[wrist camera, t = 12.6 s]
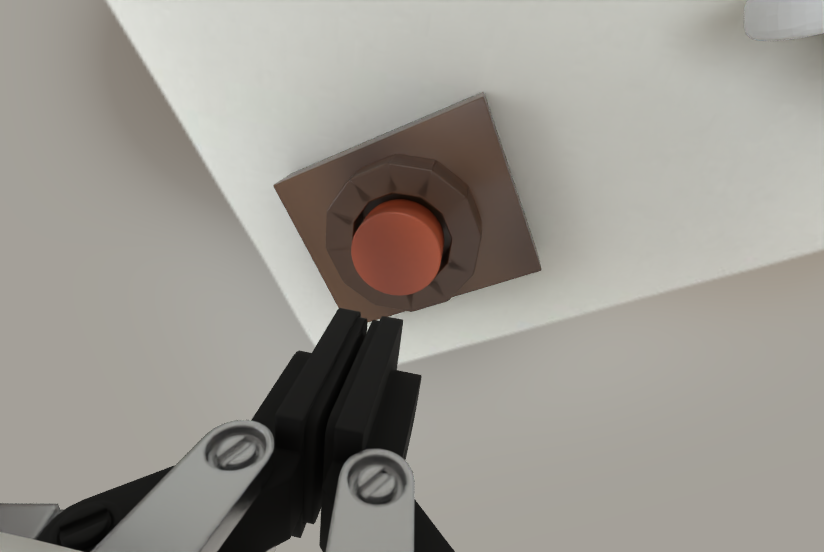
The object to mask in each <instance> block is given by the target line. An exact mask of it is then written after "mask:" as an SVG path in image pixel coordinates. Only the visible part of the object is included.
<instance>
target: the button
mask: <svg viewBox="0 0 824 552" xmlns="http://www.w3.org/2000/svg"><path fill="white" fill-rule="evenodd" d="M443 249H444V233H443V230H442V227H441V225H440V223H439V221H438V219H437V218H436V216H435V215H434V214H433V213H432V212H431V211H430V210H429V209H427V208H426V207H425V206H423V205H421V204H419V203H417V202H414V201H411V200H405V199H394V200H389V201H386V202H383V203H381V204H379V205H378V206H376V207H375V208H374V209H372V210H371V211H370V212H369V214H368V215H367V216H366V218H365V219H364V221H363V222H362V223H361V225H360V226H359V228H358V229H357V231H356V232H355V235H354V237H353V240H352V245H351V255H352V260H353V264H354V266H355V269H356V270H357V272H358V274H359V275H360V277H361V278H362V279H363V280H364V281H365V282H366V283H367V284H368V285H370V286H371V287H373V288H374V289H376V290H378V291H380V292H383V293H385V294H390V295H409V294H413V293H416V292H418V291H420V290H422V289H424V288H425V287H426V286H428V285H429V284H430V283H431V282H432V281H433V279H434V278H435V277H436V275H437V273H438V271H439V268H440V264H441V259H442V254H443Z"/></svg>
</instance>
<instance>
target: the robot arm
mask: <svg viewBox="0 0 824 552" xmlns="http://www.w3.org/2000/svg"><path fill="white" fill-rule="evenodd" d="M402 326H403V320H401V319H396V318H391V317H386V316H382V317H381V319H380V321H377V320H373V321H372V323H371V325H370V327H369V329H368V332H367V318H361V312H359V311H354V310H349V309H344V308H339V309H338V310H337V312H336V314H335V315H334V317H333V319H332V320H331V322H330V324H329V325H328V327H327V329H326V330H325V332H324V334H323V335H322V337H321V339H320V340H319V342H318V344H317V345H316V347H315V349H314V351H313V352H312V353H308V352H303V351H298V352H296V354H294V356H293V357H292V359H291V360H290V362H289V363H288V365H287V367H286V368H285V369H284V371H283V373H282V374H281V376H280V377H279V379H278V380H277V382H276V383H275V385H274V386H273V388H272V389H271V391H270V393H269V394H268V396H267V397H266V399H265V400H264V402H263V403H262V405H261V406H260V408H259V409H258V411H257V412H256V414H255V415H254V417H253V419H252V420H251V421H250V420H236V421H231V422H227V423H224V424H222V425H220V426H218V427H216V428H214V429H212V430H211V431H210V432H209V433H207V434H206V435H205V436H204V437H203V438H202V439H201V440H200V441H199V442H198V443H197V444H196V445H195V446H194V447H193V448H192V449H191V450H190V451H189V452H188V453H187V454H186V455H185V456H184V457H183V458H182V459H181V460H180V461H179V462H178V463H177V464H176V465H175V466H172V467H169V468H167V469H164V470H161V471H159V472H156V473H153V474H151V475H148V476H146V477H143V478H140V479H137V480H135V481H132V482H130V483H127V484H124V485H122V486H119V487H116V488H113V489H111V490H108V491H106V492H103V493H100V494H97V495H95V496H92V497H90V498H87V499H84V500H82V501H80V502H78V503H76V504H74V505H72V506H70V507H68V508H66V509H65V510H60V508H59V505H58V504H1V503H0V552H275V550H276V546H277V545H279V544H280V543H283V542H284V541H286V540H288V539H290V537H291V536H294V537H299V538H301V536H302V533H303V530H304V528H305V525H306V523H311V524H314V523H315V522H316V519H317V517H318V514H319V511H320V509H321V527H320V548H321V549H322V551H323V552H455V551H454V550H453V549H452V548H451V546H450V545H449V544H448V542H447V541H446V540H445V539H444V537H443V536H442V535H441V533H440V532H439V530H437V528H436V527H435V525H434V524H433V523H432V522H431V520H430V519H429V517H428V516H427V515H426V514H425V512H424V511H423V510H422V508H421V507H420V506H419V504H418V503H417V502H416V500H415V499H414V476H413V471H412V470H411V468H410V466H409V464H408V463H407V462H406V461H405V459H406V455H407V450H408V446H409V441H410V436H411V431H412V427H413V422H414V417H415V412H416V406H417V400H418V395H419V388H420V383H421V375H418V374H413V373H408V372H402V371H398V370H397V363H398V356H399V348H400V341H401V334H402ZM366 333H367V334H366Z"/></svg>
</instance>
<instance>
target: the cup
mask: <svg viewBox="0 0 824 552" xmlns="http://www.w3.org/2000/svg"><path fill="white" fill-rule="evenodd" d="M744 28H745V32H746V34H747V35H748V36H749V38H751V39H754V40H758V41H778V40H789V39H797V38H803V37H808V36H813V35H818V34H823V33H824V0H747V2H746V5H745V7H744Z"/></svg>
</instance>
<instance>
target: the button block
mask: <svg viewBox="0 0 824 552" xmlns="http://www.w3.org/2000/svg"><path fill="white" fill-rule="evenodd" d="M274 188H275V190H276V192H277V193H278V195H279V197H280V199H281V201H282V203H283V205H284V207H285V208H286V210H287V212H288V214H289V216H290V218H291V220H292V221H293V223H294V225H295V227H296V229H297V231H298V233H299V235H300V236H301V238H302V240H303V242H304V244H305V246H306V248H307V249H308V251H309V253H310V255H311V257H312V259H313V261H314V263H315V264H316V266H317V268H318V270H319V272H320V274H321V276H322V277H323V279H324V281H325V283H326V285H327V287H328V289H329V290H330V292H331V294H332V296H333V298H334V300H335V302H336V304H337V305H338V307H339V308H344V309H349V310H354V311H359V312H361V318H367V322H371V321H373V320H377V319H381V317H382V316H386V317H388V316H391V315H394V314H398V313H401V312H404V311H410V312H412V311H416V310H419V309H423V308H426V307H429V306H433V305H436V304H439V303H443V302H446V301H448V300H450V298H451V297H454V296H458V295H461V294H464V293H468V292H471V291H474V290H478V289H481V288H484V287H488V286H491V285H494V284H498V283H501V282H504V281H508V280H511V279H514V278H518V277H521V276H524V275H528V274H531V273H534V272H538V271H541V265H540V262H539V258H538V254H537V250H536V247H535V244H534V241H533V238H532V235H531V232H530V229H529V226H528V223H527V220H526V217H525V214H524V211H523V208H522V205H521V202H520V199H519V196H518V193H517V190H516V187H515V184H514V181H513V178H512V175H511V172H510V169H509V166H508V163H507V160H506V157H505V154H504V151H503V148H502V145H501V142H500V139H499V136H498V133H497V130H496V127H495V124H494V121H493V118H492V115H491V112H490V109H489V106H488V103H487V100H486V97H485V94H484V92H482V93H479V94H477V95H475V96H472V97H470V98H468V99H465V100H463V101H460V102H458V103H456V104H453V105H451V106H449V107H446V108H444V109H442V110H439V111H437V112H435V113H432V114H430V115H428V116H425V117H423V118H421V119H418V120H416V121H414V122H411V123H409V124H407V125H404V126H402V127H399V128H397V129H395V130H392V131H390V132H388V133H385V134H383V135H381V136H378V137H376V138H374V139H371V140H369V141H367V142H364V143H362V144H360V145H357V146H355V147H353V148H350V149H348V150H346V151H343V152H341V153H338V154H336V155H334V156H331V157H329V158H327V159H324V160H322V161H320V162H317V163H315V164H313V165H310V166H308V167H306V168H303V169H301V170H299V171H296V172H294V173H292V174H290V175H288V176H287V177H285V178H284V179H282V180H281V181H279V182H278V183H276V184H274ZM394 199H405V200H411V201H414V202H417V203H419V204H421V205H423V206H425V207H426V208H427V209H429V210H430V211H431V212H432V213H433V214H434V215H435V216H436V218H437V219H438V221H439V223H440V225H441V227H442V230H443V233H444V249H443V254H442V259H441V264H440V268H439V271H438V273H437V275H436V277H435V278H434V279H433V281H432V282H431V283H430V284H429V285H428V286H426V287H425V288H424V289H422V290H420V291H418V292H416V293H413V294H409V295H390V294H385V293H383V292H380V291H378V290H376V289H374V288H373V287H371V286H370V285H368V284H367V283H366V282H365V281H364V280H363V279H362V278H361V277H360V275H359V274H358V272H357V270H356V269H355V266H354V264H353V260H352V255H351V245H352V240H353V237H354V235H355V232H356V231H357V229H358V228H359V226H360V225H361V223H362V222H363V221H364V219H365V218H366V216H367V215H368V214H369V212H370V211H371V210H372V209H374V208H375V207H376V206H378V205H379V204H381V203H383V202H386V201H389V200H394Z"/></svg>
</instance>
